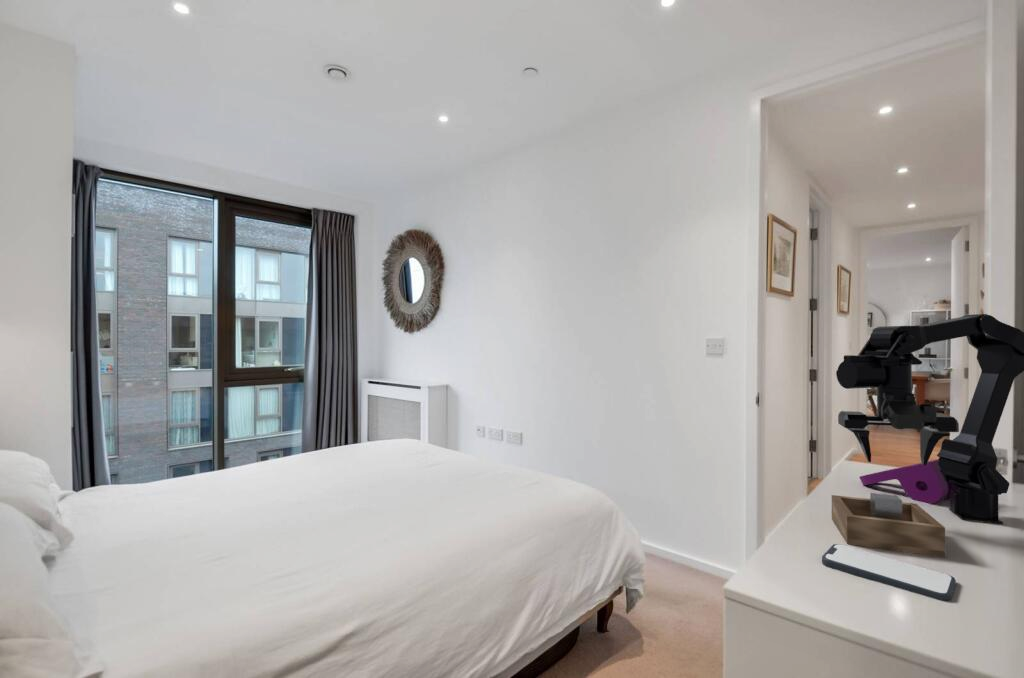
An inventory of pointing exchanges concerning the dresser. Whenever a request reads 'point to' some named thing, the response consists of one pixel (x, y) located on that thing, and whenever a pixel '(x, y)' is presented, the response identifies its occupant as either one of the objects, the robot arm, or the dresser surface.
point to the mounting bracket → (916, 481)
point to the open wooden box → (888, 527)
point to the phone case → (890, 572)
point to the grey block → (885, 506)
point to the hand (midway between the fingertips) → (896, 463)
